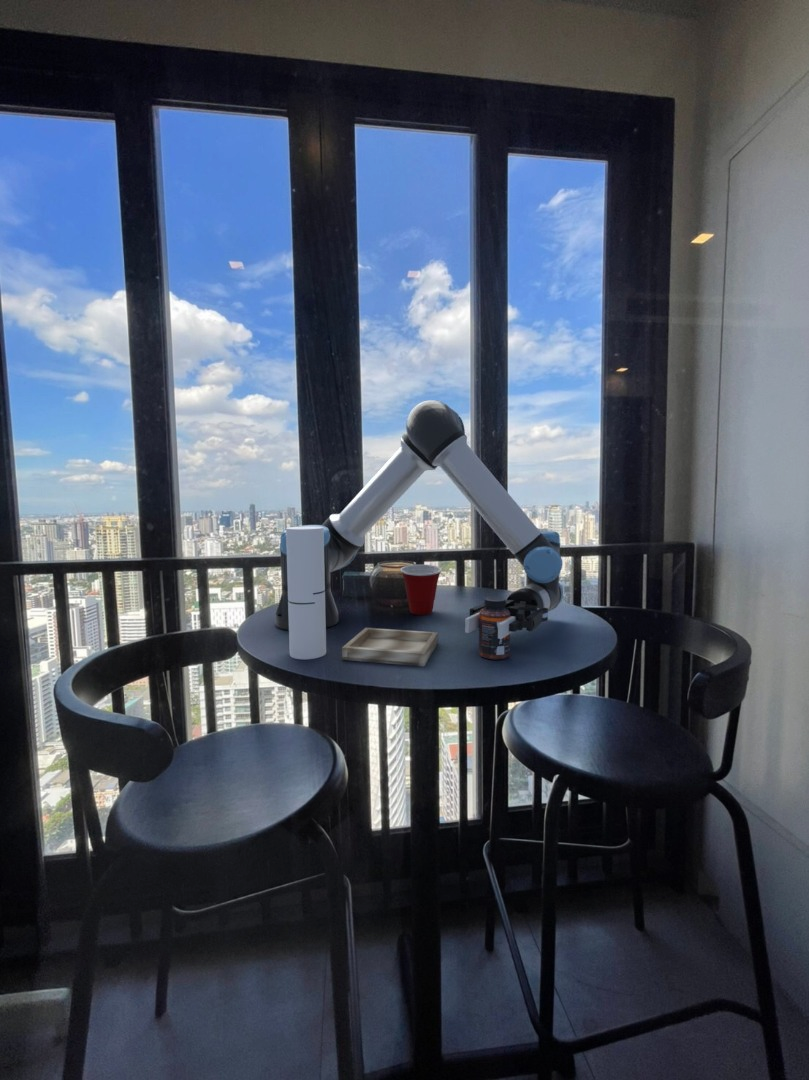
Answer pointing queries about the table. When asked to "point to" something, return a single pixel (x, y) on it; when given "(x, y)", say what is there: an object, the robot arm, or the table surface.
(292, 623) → the cylindrical container
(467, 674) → the table surface
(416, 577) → the plastic cup
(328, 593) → the robot arm
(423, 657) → the tray
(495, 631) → the supplement bottle
